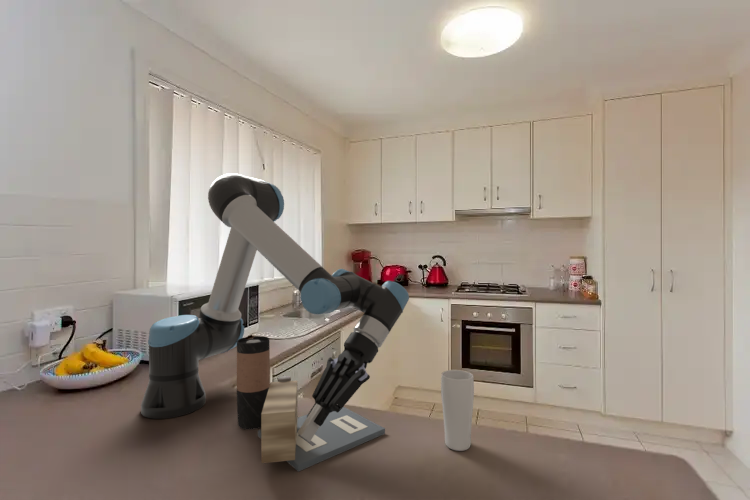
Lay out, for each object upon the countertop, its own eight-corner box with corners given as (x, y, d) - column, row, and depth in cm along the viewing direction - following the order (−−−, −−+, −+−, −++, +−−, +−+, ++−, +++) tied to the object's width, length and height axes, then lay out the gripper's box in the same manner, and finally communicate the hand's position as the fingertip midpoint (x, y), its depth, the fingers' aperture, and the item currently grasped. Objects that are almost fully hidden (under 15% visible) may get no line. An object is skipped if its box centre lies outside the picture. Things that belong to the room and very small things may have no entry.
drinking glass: (453, 434, 84) (452, 367, 84) (480, 445, 79) (480, 374, 79) (435, 445, 79) (434, 374, 79) (462, 458, 74) (462, 382, 74)
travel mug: (260, 431, 86) (259, 344, 86) (230, 428, 87) (229, 342, 87) (275, 417, 93) (275, 336, 93) (247, 414, 95) (247, 335, 95)
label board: (255, 434, 84) (255, 425, 84) (335, 407, 99) (335, 399, 99) (298, 471, 70) (298, 460, 70) (384, 433, 84) (384, 424, 84)
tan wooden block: (271, 417, 88) (271, 376, 88) (297, 414, 89) (297, 375, 89) (261, 463, 68) (261, 411, 68) (295, 459, 69) (294, 409, 70)
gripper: (394, 355, 83) (333, 458, 72) (356, 344, 93) (298, 434, 82) (375, 335, 79) (309, 441, 69) (339, 326, 89) (275, 417, 78)
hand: (303, 437), depth 75 cm, fingers closed
